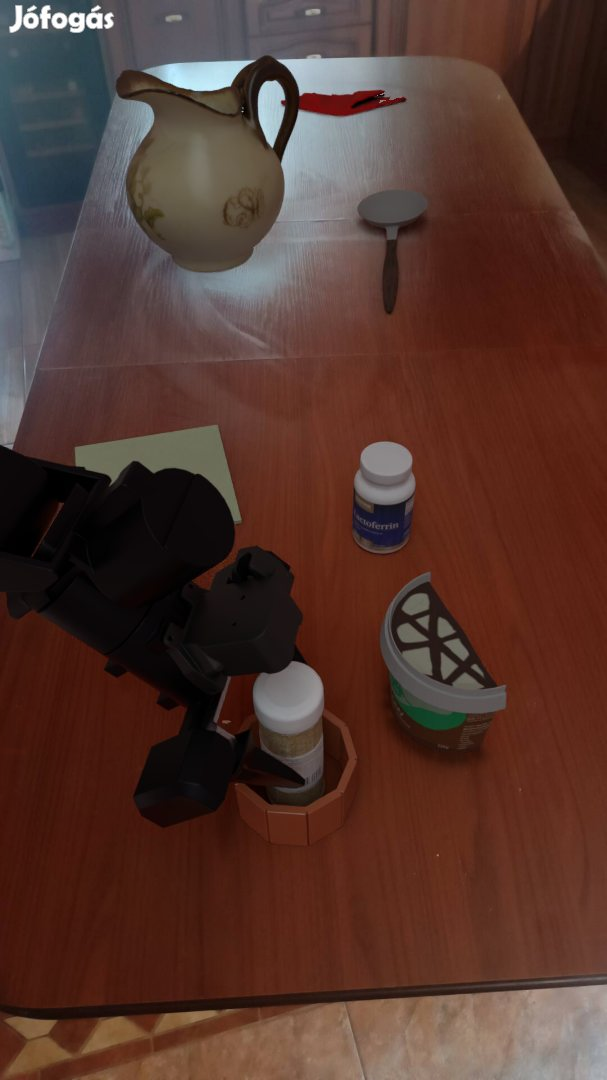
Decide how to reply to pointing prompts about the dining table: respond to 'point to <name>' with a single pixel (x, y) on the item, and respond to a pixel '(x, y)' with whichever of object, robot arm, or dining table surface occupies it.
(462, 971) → the dining table surface
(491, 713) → the food container
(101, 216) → the dining table surface
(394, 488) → the pill bottle
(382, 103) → the cloth
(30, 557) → the robot arm
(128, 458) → the placemat
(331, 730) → the brown hollow polygonal ring
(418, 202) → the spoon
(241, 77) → the pitcher
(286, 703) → the sprinkles bottle
